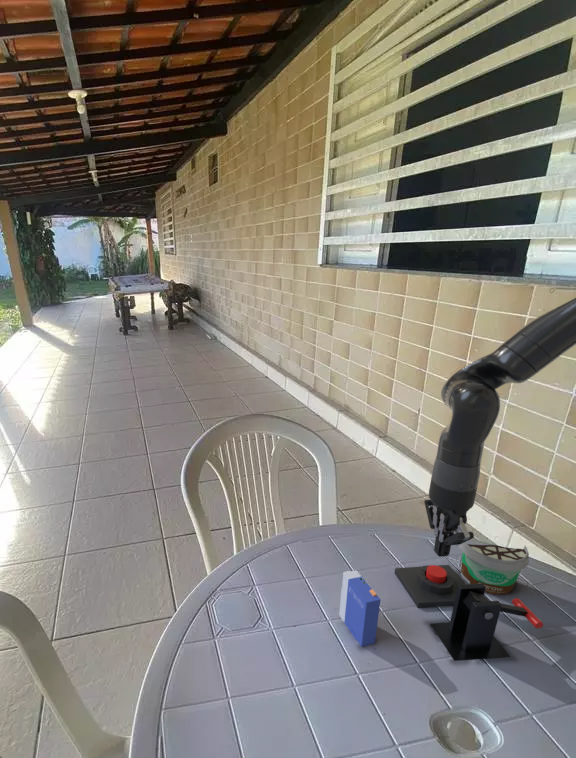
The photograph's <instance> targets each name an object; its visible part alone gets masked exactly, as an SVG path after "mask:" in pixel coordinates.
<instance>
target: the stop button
mask: <svg viewBox="0 0 576 758" xmlns="http://www.w3.org/2000/svg"><path fill="white" fill-rule="evenodd" d="M429 565H430V566H428V567H427V571H426V577H427V578H428V579H429V580H430V581H432V582H435V583H439V584H440V583H444V582H445V581H446V576H447V573H446V571H445V570H444V569H443V568H441V567H439V566H437V565H436V564H429Z"/></svg>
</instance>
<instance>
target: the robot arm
mask: <svg viewBox="0 0 576 758" xmlns="http://www.w3.org/2000/svg"><path fill="white" fill-rule="evenodd" d="M574 346H576V297H574V298H572V299H570V300H568V301H567V302H566V301H565V302H564V303H562V304H560V305H558V306H556V307H554V308H552V309H551V310H548V311H546V312H545V313H543V314H541V315H539V316H537V317H536V318H534V319H532V320H531V321H529V322H527V323H526V324H525V325H524V326H522V327H521V328H519V329H518V330H517V331H516V332H515V333H513V334H512V335H511V336H510V337H508V338H507V339H506V340H505V341H503V342H502V343H501V344H500V345H499V346H498V347H496V348H495V349H494V350H493V351H491V352H490V353H488V354H486V355H484V356H482V357H480V358H478V359H476V360H474V361H472V362H470V363H469V364H467V365H466V366H464V367H461V369H459V370H457V371H456V372H454V373H453V374H452V375H451V376H450V377H449V378H448V379H446V381H445V383H443V385H442V387H441V389H440V399H441V401H442V403H443V404H444V405H445V407H446V408H448V409H449V411H451V420H450V424H449V425H446V426H444V428H443V429H441V432H440V434H439V438H438V443H437V451H436V455H435V459H434V462H433V465H432V471H431V476H430V485H429V491H428V498H429V499H424V501H423V502H424V506H425V511H426V515H427V520H428V524H429V528H430V529H431V530H433V535H434V537H435V540H434V548H433V551H434V553H435V554H436V555H437V556H438V557H448V556H449V555H450V553H451V547H452V546H460V544H462V543H464V542H466V543H467V542H468V541H470V540H472V539H474V537H475V535H474V532H473V531H468V529H467V526H466V524H467V522H468V517H467V513H468V512H469V511H470V509H472V508H473V507H474V505H475V501H476V495H477V491H478V488H479V487H478V486H479V481H480V476H481V462H482V458H483V453H484V449H485V442H486V441H487V439H488V437H489V435H490V433H491V432H492V430H493V427H494V425H495V423H496V422H497V419H498V417H499V414H500V410H501V398H500V395H499V392H498V391H497V389H499V388H501V387H502V386H504V385H506V384H522V383H525V382H527V381H529V380H530V379H532V378H533V377H534V376H536V375H537V374H538V373H539V372H541V371H542V370H544V369H545V368H546V367H548V366H549V365H550V364H551V363H553V362H555V360H557V359H558V358H560V357H561V356H562V355H563V354H565V353H566V352H568V351H569V350H571V349H572V348H573V347H574Z"/></svg>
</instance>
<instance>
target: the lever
mask: <svg viewBox="0 0 576 758" xmlns="http://www.w3.org/2000/svg"><path fill="white" fill-rule="evenodd" d="M485 601H490V600H489V598H488V597H487V596H486V594H485V593H484V594H480V593H475V592H471V591H470V592H469V593H468V595H467V596H466V598H465V599H464V601H463V602H464V603H465V604H466V605H467V607H468V608H469V609H470V610H471V607H472V603H473V602H485ZM500 603H501V605H502V606H501V610H500V613H506V614H510V615H515V616H518V617H519V616H520V617H524V618H525V619H527V621H528V622H529V623H530V624H531V625H532V626H533V627H534V628H535V629H542V628H543V627H544V622H543V621H542V620H540V618H538V616H536V614H535V613H534V612H533V611H532V610H531V609H530V608H529V607H528V606H527V604H525V603H524V602H523V601H522V600H521V599H520V598H519V597H515V598H513V599H512V600H511V604H512V605H511V604H507V603H502V602H500Z"/></svg>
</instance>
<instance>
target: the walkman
mask: <svg viewBox="0 0 576 758" xmlns="http://www.w3.org/2000/svg"><path fill="white" fill-rule="evenodd" d="M342 573H343V574H342V583H341V589H340V601H339V611H338V616H339V617H340V618H341V620H342V621H343V623H344V625H345V626H346V628H347V629H348V631H349V632H350V633H351V635H352V637H353V638H354V640H355V641H356V642H358V643H359V645H360V647H361V648H362V647H365V646H366V647H367V646H370V645H374V644H376V637H377V629H378V623H379V616H380V615H379V614H380V608H381V598H380V597H379V596H378V595H377V593H376V592H375V590H374V589H373V588H372V587H371V586H370V585H369V583H367V581H366V580H365V579H364V578H363V576H362V575H361V574H360V572H359V571H358V570H356V569H355V570H351V571H350V570H347V571H343V572H342Z"/></svg>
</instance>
